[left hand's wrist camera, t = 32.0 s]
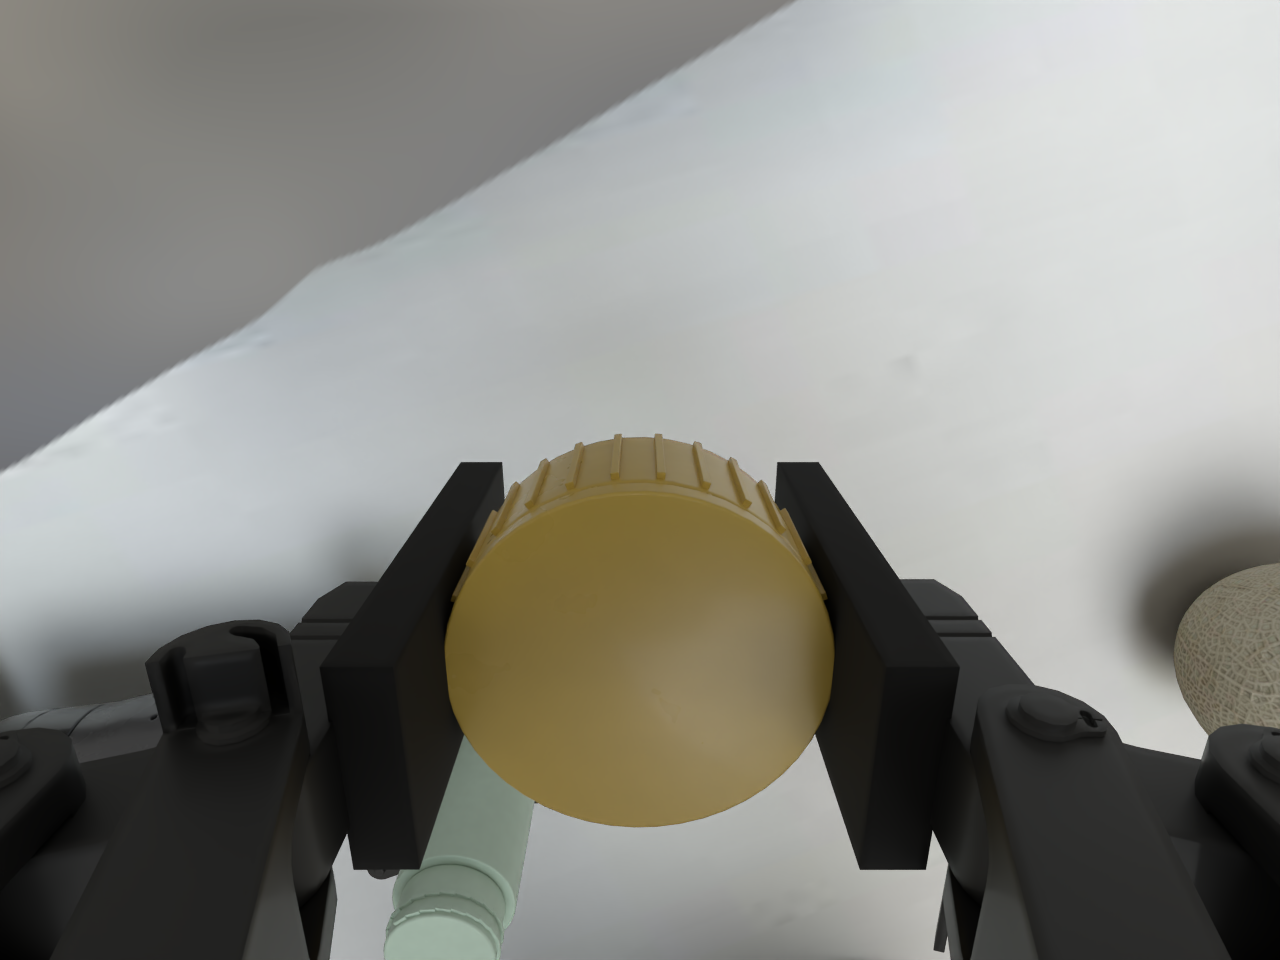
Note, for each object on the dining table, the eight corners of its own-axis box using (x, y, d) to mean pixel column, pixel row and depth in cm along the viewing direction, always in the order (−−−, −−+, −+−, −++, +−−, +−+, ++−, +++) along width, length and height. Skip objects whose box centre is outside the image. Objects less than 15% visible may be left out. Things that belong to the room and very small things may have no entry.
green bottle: (575, 666, 41) (533, 965, 25) (515, 707, 42) (436, 1023, 26) (522, 610, 40) (441, 887, 24) (461, 654, 41) (344, 950, 25)
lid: (429, 474, 11) (379, 537, 9) (773, 395, 11) (807, 443, 9) (526, 751, 13) (504, 861, 11) (827, 692, 13) (867, 794, 10)
